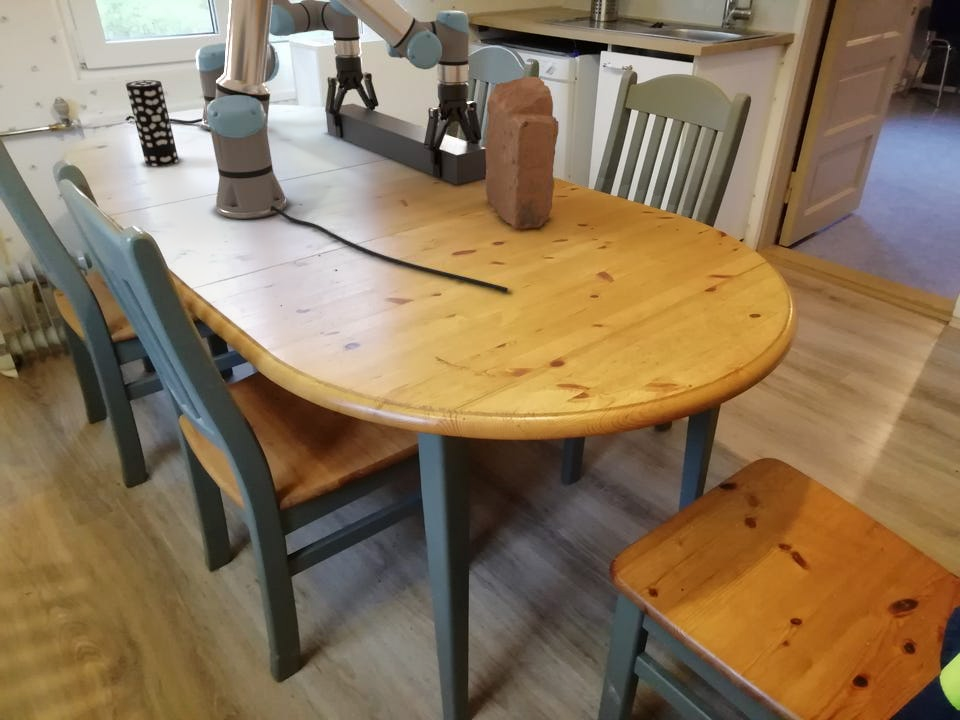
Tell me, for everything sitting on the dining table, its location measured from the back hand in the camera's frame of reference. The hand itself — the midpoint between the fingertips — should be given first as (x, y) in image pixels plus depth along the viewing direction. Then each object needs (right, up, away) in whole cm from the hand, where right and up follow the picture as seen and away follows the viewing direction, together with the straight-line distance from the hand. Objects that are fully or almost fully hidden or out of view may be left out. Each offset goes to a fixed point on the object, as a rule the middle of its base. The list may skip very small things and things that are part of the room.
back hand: (354, 133), depth 211 cm
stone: (+47, -36, -53) cm, 80 cm away
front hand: (+31, -20, -30) cm, 48 cm away
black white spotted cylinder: (-48, -7, -30) cm, 57 cm away
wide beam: (+16, -10, -15) cm, 24 cm away
